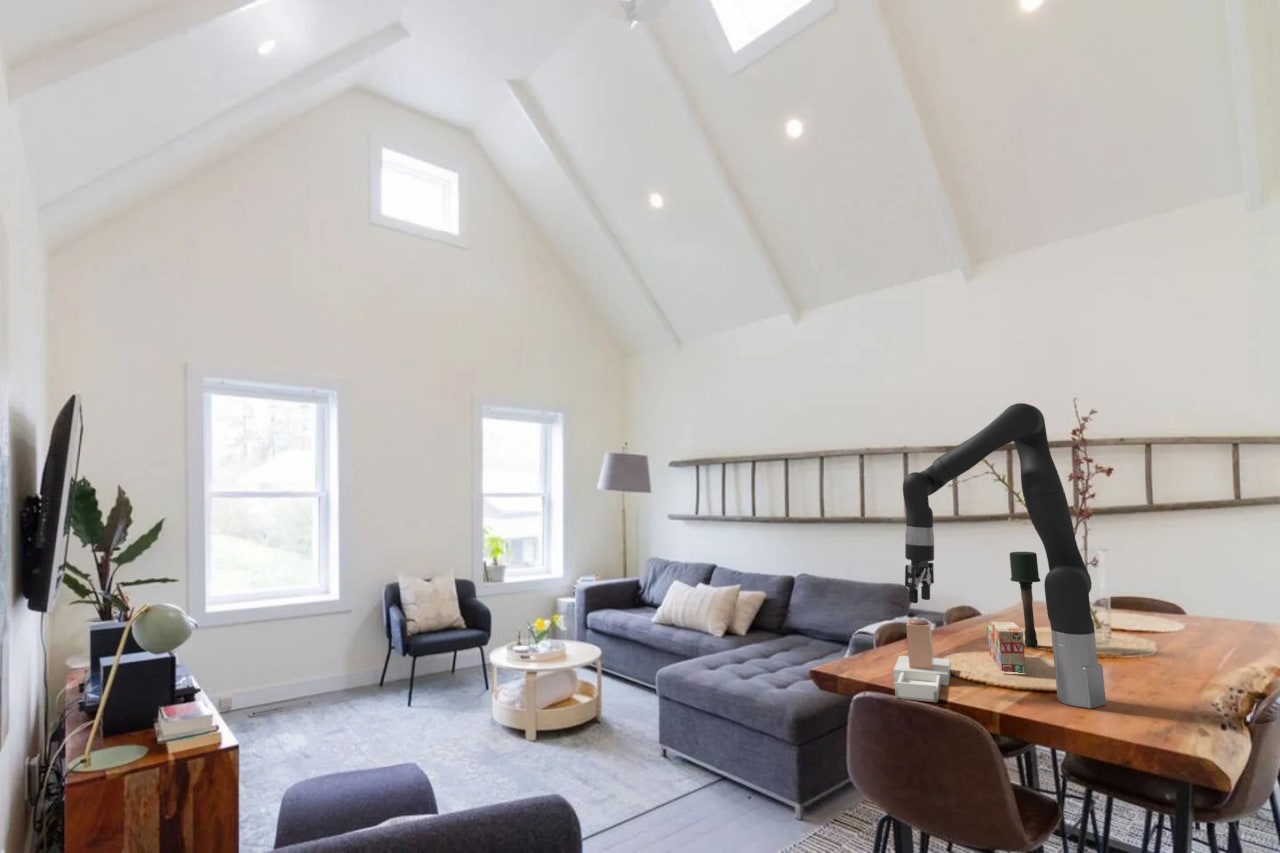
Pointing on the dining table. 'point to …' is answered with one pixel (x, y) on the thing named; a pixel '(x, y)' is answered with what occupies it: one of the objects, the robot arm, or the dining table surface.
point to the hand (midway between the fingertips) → (919, 601)
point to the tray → (917, 689)
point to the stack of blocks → (1007, 646)
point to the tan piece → (920, 644)
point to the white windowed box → (923, 671)
